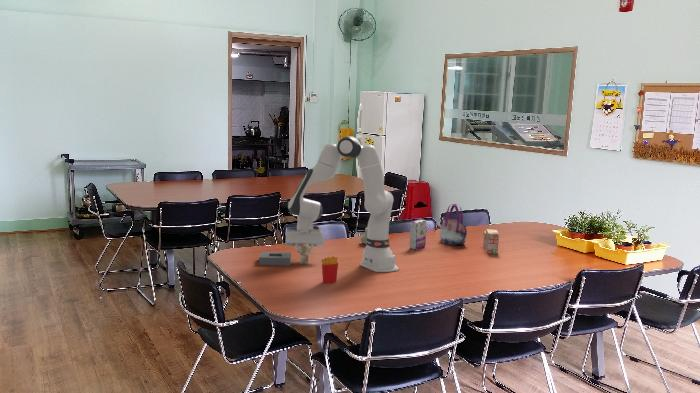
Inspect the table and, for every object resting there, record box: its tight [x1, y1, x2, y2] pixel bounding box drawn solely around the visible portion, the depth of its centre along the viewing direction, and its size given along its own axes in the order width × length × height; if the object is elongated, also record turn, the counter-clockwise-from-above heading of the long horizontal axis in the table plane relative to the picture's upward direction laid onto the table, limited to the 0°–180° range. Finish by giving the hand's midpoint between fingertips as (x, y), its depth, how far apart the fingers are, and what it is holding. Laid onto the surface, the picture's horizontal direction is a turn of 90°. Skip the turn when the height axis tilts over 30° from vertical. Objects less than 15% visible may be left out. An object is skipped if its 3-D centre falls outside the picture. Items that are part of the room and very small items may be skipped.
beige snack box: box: [482, 228, 500, 255], centre depth 357 cm, size 21×6×12 cm, turn 174°
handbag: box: [439, 203, 468, 246], centre depth 369 cm, size 21×10×25 cm, turn 37°
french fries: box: [321, 256, 339, 284], centre depth 277 cm, size 8×4×12 cm, turn 124°
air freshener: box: [360, 226, 368, 246], centre depth 359 cm, size 11×8×10 cm
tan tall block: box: [299, 244, 310, 265], centre depth 310 cm, size 4×4×10 cm
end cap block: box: [258, 251, 292, 267], centre depth 309 cm, size 16×12×4 cm
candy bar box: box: [409, 219, 427, 250], centre depth 354 cm, size 11×5×16 cm, turn 143°
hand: (304, 252), depth 309 cm, fingers closed on tan tall block, 4 cm apart
